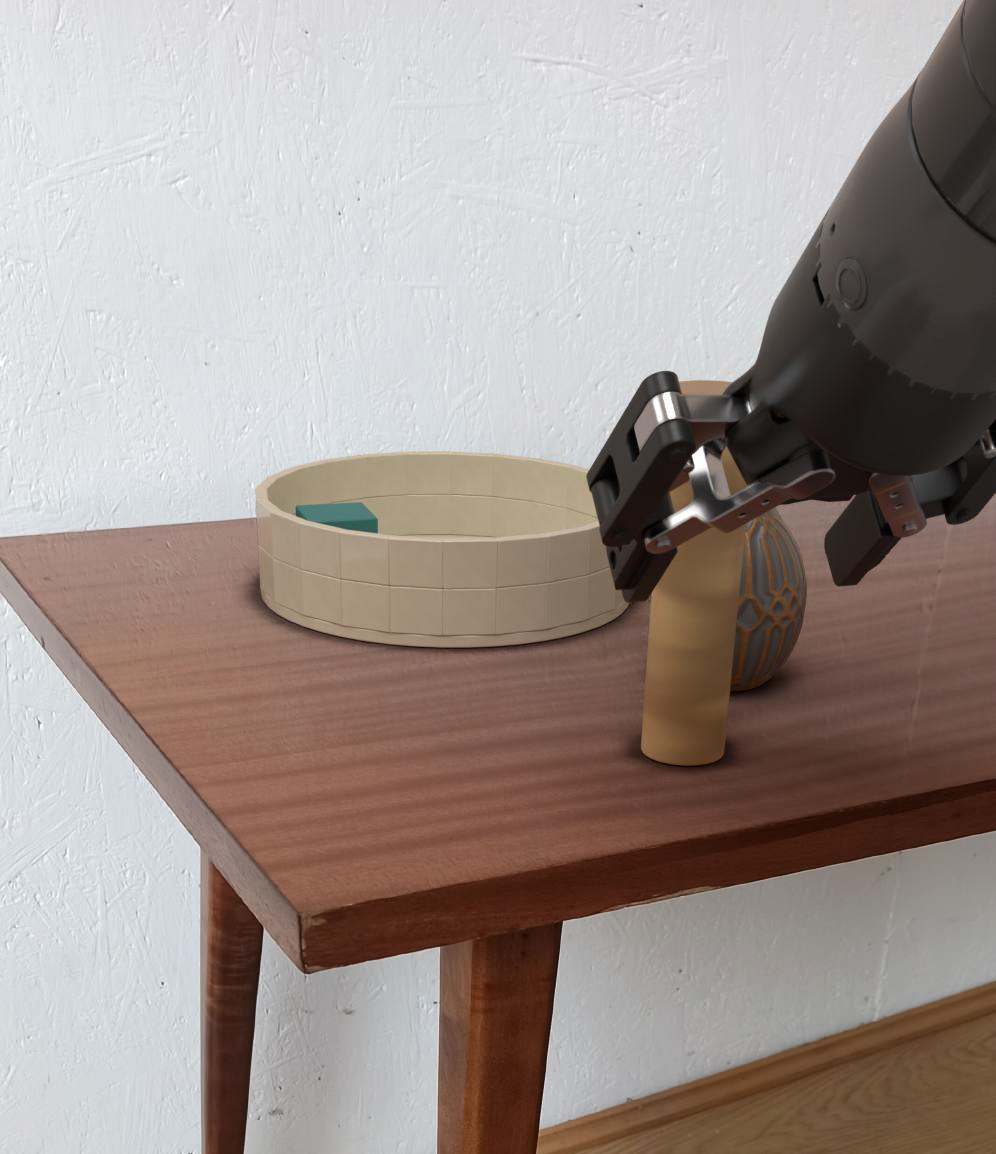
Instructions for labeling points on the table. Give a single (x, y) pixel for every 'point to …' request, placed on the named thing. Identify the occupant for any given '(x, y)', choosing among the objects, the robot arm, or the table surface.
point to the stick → (694, 633)
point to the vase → (767, 601)
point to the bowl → (438, 550)
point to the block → (340, 516)
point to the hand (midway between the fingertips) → (733, 571)
